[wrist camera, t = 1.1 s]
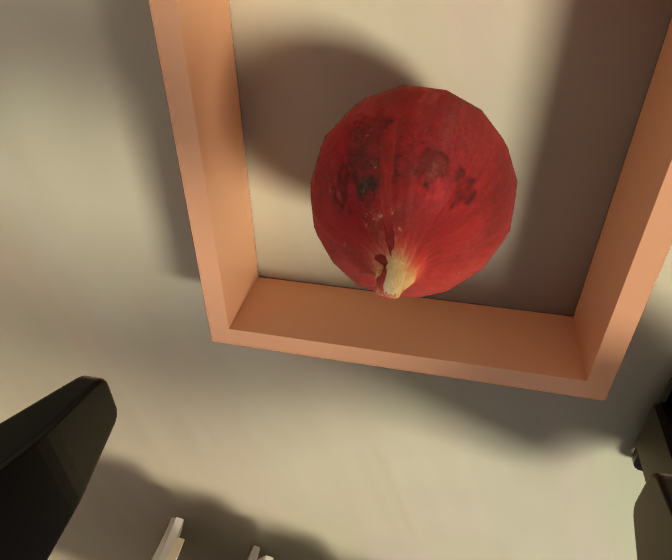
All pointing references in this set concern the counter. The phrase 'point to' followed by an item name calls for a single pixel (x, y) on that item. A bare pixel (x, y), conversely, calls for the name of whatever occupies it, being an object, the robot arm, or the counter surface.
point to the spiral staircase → (172, 543)
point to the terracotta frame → (404, 312)
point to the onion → (412, 192)
